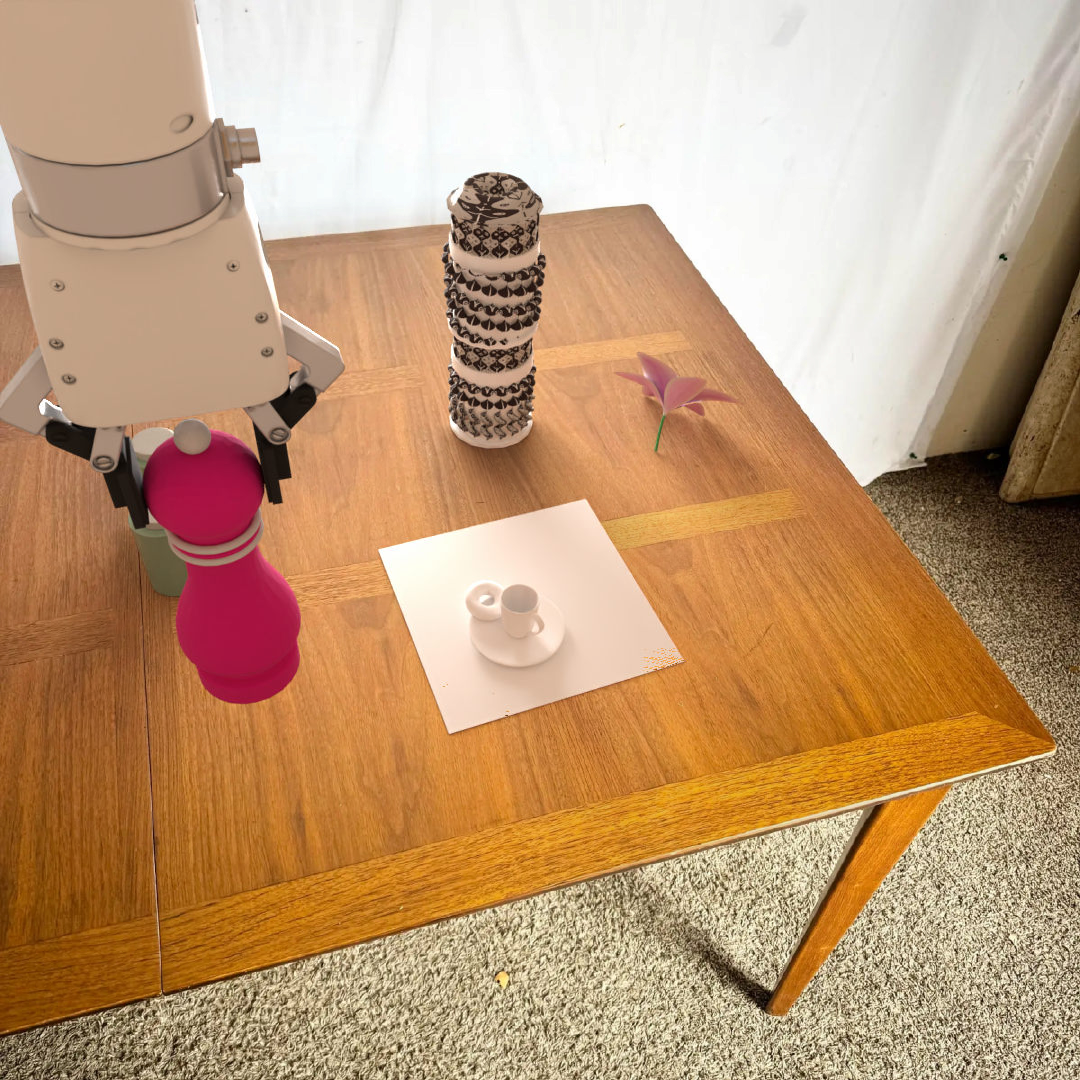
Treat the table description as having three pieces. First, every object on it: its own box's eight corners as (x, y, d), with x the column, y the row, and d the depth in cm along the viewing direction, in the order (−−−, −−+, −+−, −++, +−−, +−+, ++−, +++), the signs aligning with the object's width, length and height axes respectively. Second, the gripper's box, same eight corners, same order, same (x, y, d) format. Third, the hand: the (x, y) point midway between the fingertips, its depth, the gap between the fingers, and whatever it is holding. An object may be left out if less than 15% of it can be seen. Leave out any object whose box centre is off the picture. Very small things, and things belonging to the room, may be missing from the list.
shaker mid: (144, 597, 79) (118, 530, 74) (156, 553, 83) (132, 485, 77) (206, 596, 80) (185, 529, 74) (215, 552, 83) (196, 484, 77)
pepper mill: (307, 615, 64) (266, 373, 50) (308, 705, 60) (263, 468, 45) (195, 624, 63) (119, 380, 49) (186, 718, 58) (100, 478, 44)
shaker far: (139, 528, 85) (115, 460, 79) (151, 489, 88) (129, 421, 82) (197, 527, 85) (178, 460, 79) (207, 489, 89) (189, 421, 83)
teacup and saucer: (452, 600, 81) (451, 568, 78) (540, 577, 83) (542, 545, 80) (487, 681, 75) (488, 650, 72) (580, 654, 78) (584, 622, 75)
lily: (743, 461, 97) (763, 366, 94) (670, 467, 89) (689, 363, 86) (652, 434, 105) (668, 345, 102) (578, 437, 97) (593, 341, 94)
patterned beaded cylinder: (459, 458, 93) (456, 219, 75) (435, 401, 99) (427, 166, 81) (548, 442, 96) (566, 206, 78) (519, 387, 102) (530, 156, 84)
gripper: (327, 112, 42) (356, 427, 55) (-116, 143, 38) (30, 479, 51) (363, 193, 37) (385, 516, 51) (-139, 241, 33) (29, 584, 46)
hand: (207, 495), depth 50 cm, fingers closed on pepper mill, 6 cm apart
